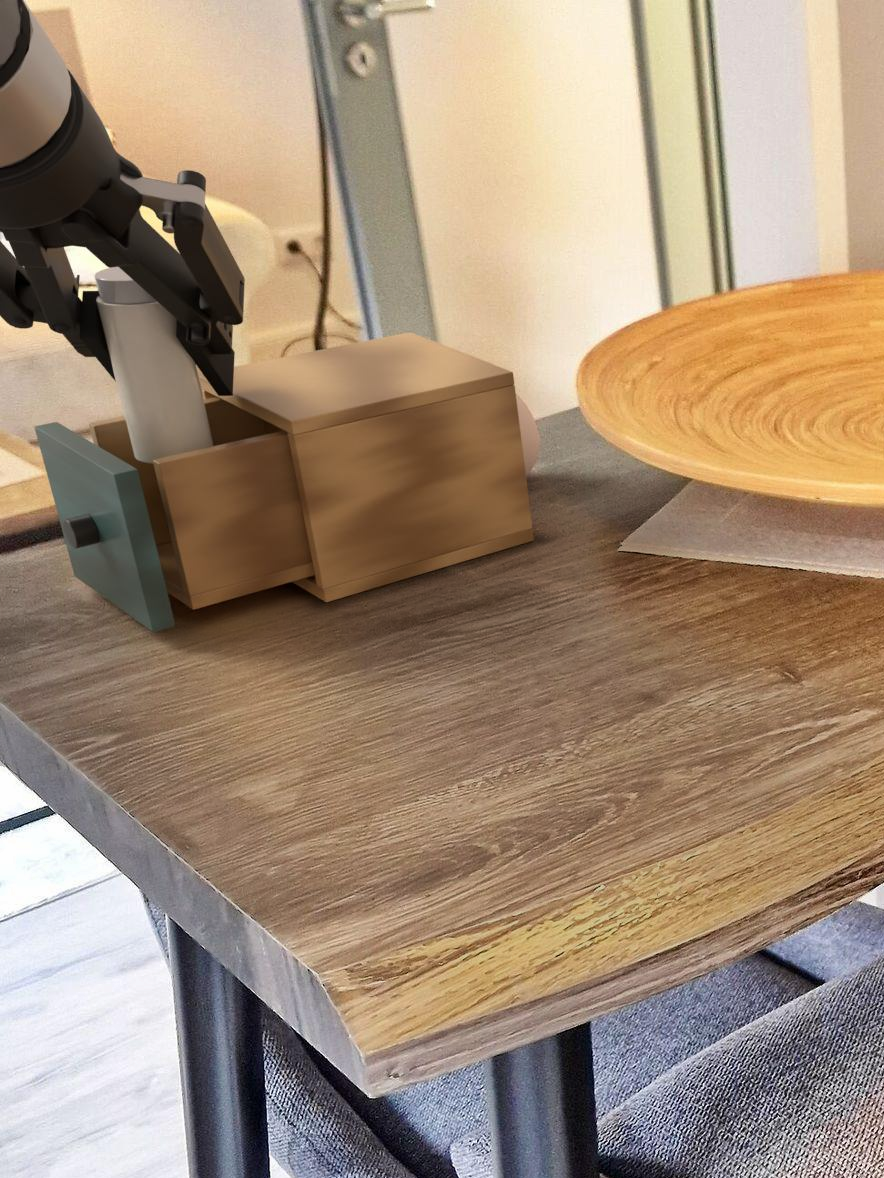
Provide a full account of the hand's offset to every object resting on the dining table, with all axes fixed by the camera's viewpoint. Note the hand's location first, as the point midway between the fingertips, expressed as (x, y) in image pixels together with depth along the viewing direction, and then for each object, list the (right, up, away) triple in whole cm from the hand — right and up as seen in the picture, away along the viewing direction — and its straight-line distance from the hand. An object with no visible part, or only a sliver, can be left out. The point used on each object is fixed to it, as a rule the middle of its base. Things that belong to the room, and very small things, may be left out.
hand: (181, 374), depth 94 cm
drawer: (+1, -11, +3) cm, 11 cm away
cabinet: (+8, -8, +10) cm, 15 cm away
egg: (+12, -3, +19) cm, 23 cm away
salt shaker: (0, -5, -2) cm, 5 cm away
